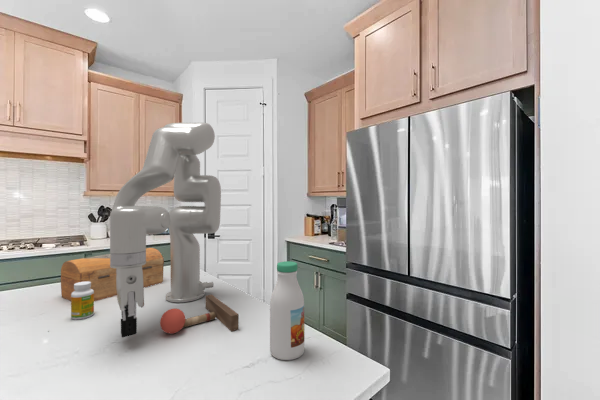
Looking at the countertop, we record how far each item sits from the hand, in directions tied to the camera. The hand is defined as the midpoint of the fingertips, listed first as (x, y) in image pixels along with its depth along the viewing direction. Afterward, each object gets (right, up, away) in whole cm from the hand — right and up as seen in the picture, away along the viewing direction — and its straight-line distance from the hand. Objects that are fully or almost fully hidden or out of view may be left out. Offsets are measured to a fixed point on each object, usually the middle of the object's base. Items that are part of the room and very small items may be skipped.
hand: (128, 334), depth 72 cm
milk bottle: (+38, -2, -5) cm, 39 cm away
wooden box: (-29, -2, +41) cm, 50 cm away
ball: (+9, +1, +4) cm, 10 cm away
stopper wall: (+19, -1, +14) cm, 23 cm away
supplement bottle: (-22, -2, +15) cm, 27 cm away
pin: (+10, 0, +7) cm, 12 cm away
